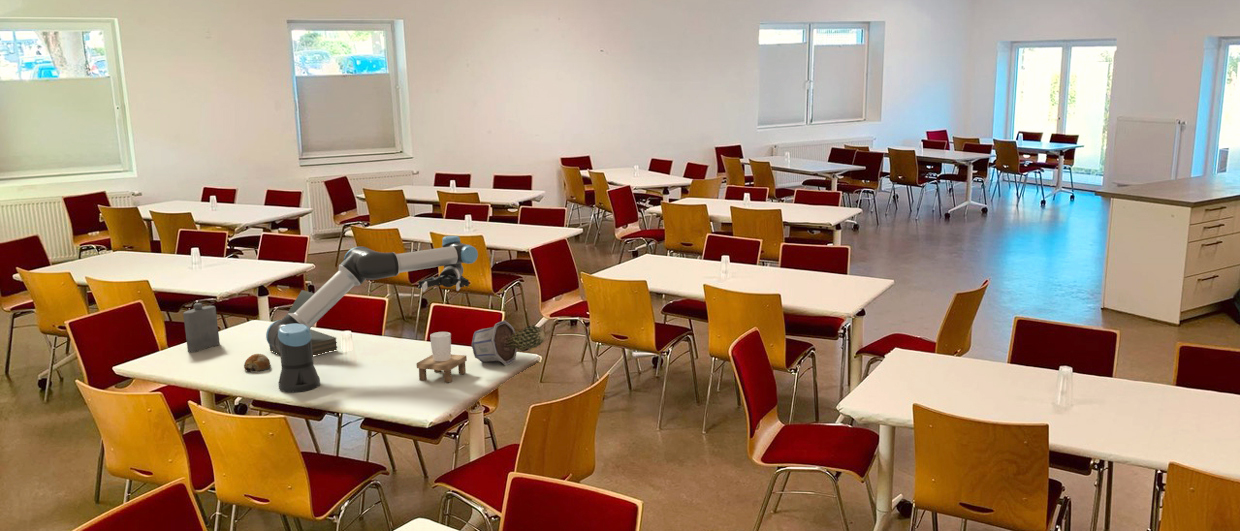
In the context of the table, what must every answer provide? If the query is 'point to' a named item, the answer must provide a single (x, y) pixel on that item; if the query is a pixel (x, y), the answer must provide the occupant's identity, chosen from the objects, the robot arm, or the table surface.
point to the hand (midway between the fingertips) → (440, 288)
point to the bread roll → (257, 363)
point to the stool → (442, 366)
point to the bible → (319, 340)
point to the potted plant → (504, 342)
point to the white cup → (441, 346)
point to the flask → (201, 327)
